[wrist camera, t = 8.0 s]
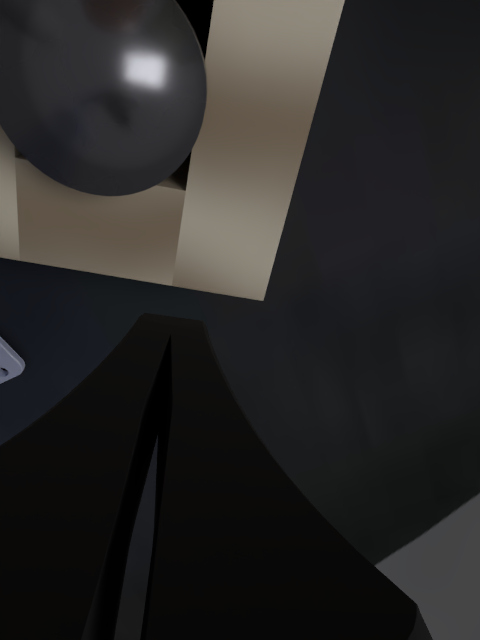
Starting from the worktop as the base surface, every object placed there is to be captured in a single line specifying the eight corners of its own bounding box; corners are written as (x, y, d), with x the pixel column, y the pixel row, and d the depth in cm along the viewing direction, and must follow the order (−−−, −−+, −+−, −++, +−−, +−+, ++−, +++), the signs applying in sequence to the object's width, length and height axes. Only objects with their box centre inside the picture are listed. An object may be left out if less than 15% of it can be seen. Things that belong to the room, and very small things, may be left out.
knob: (109, 182, 17) (75, 228, 13) (7, 30, 14) (-71, 30, 10) (237, 111, 15) (243, 138, 12) (153, -69, 13) (125, -111, 9)
